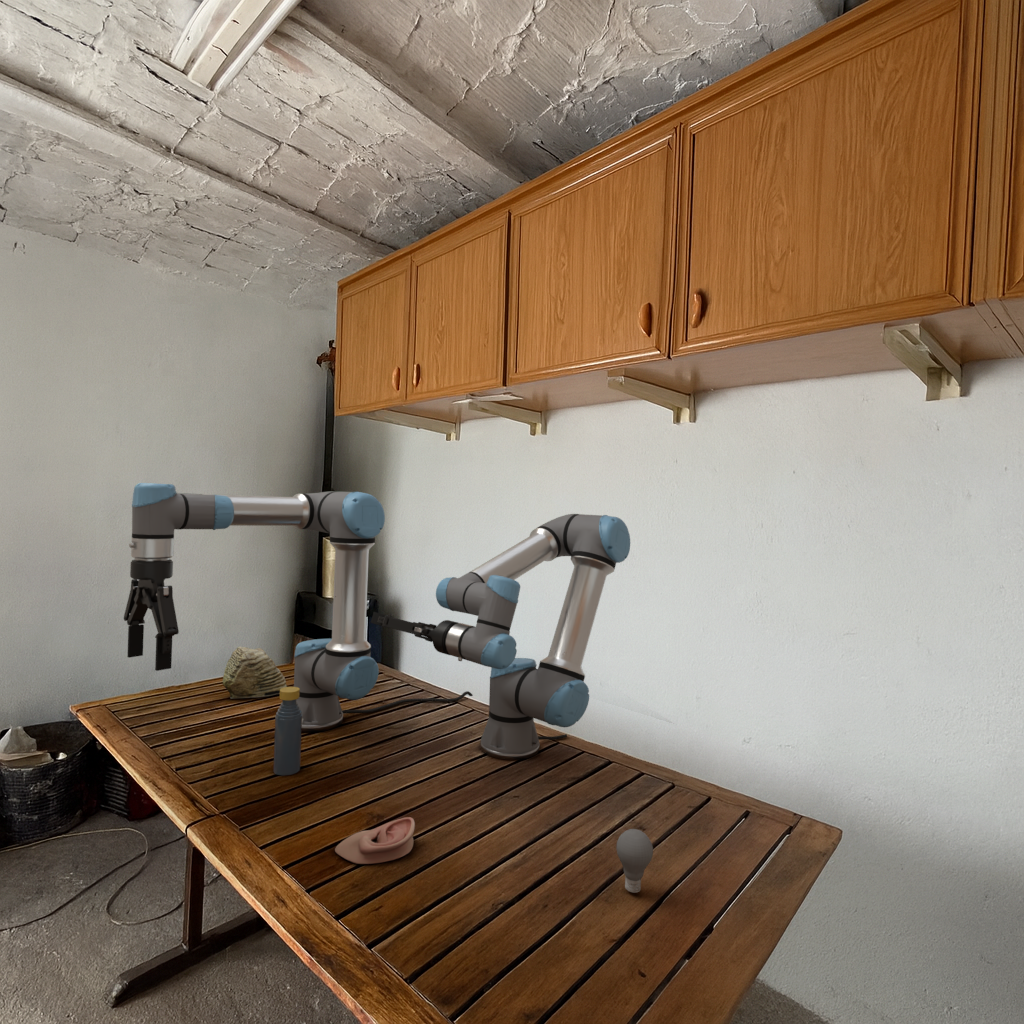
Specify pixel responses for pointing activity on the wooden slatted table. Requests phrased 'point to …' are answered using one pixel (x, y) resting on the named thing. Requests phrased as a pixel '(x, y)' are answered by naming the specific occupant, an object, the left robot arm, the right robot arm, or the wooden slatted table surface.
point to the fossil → (252, 674)
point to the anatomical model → (379, 843)
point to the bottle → (287, 738)
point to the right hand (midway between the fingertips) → (393, 622)
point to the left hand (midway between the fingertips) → (148, 662)
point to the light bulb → (634, 857)
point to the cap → (289, 693)
